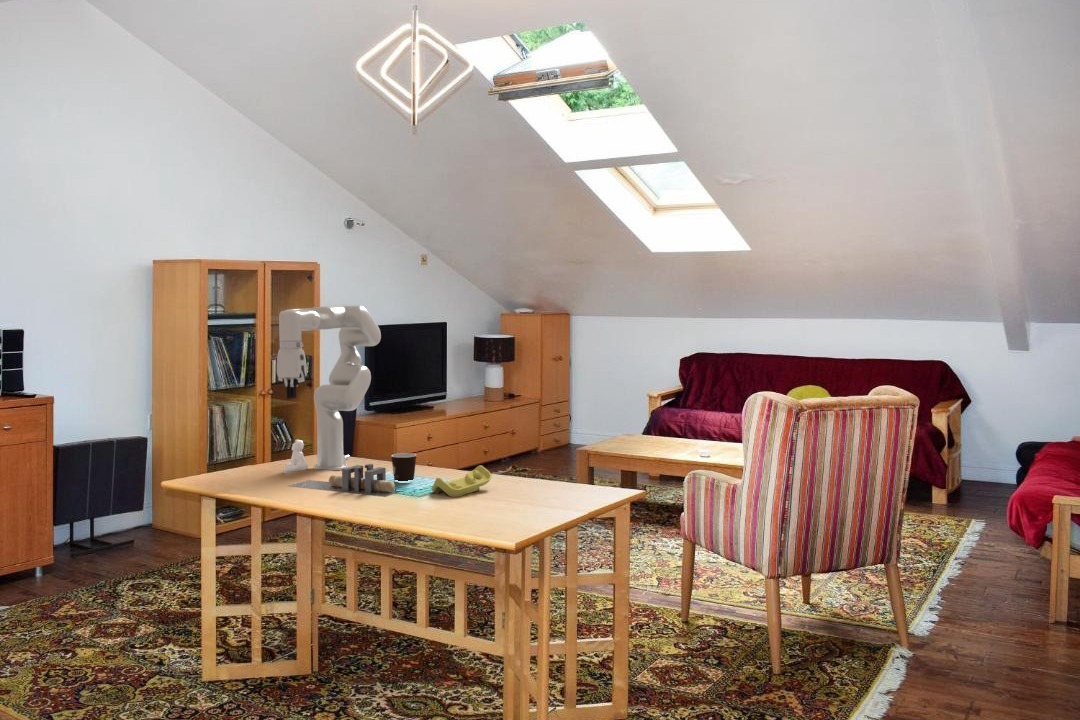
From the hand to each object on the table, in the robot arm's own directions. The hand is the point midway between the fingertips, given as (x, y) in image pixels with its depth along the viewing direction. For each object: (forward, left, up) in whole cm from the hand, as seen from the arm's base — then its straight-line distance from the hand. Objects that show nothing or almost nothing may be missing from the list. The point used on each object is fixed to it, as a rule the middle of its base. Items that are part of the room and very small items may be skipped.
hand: (291, 397), depth 338 cm
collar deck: (+7, +28, -29) cm, 41 cm away
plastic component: (-9, +64, -30) cm, 71 cm away
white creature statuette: (-14, -10, -29) cm, 34 cm away
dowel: (+7, +34, -28) cm, 45 cm away
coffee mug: (-12, +39, -29) cm, 50 cm away
